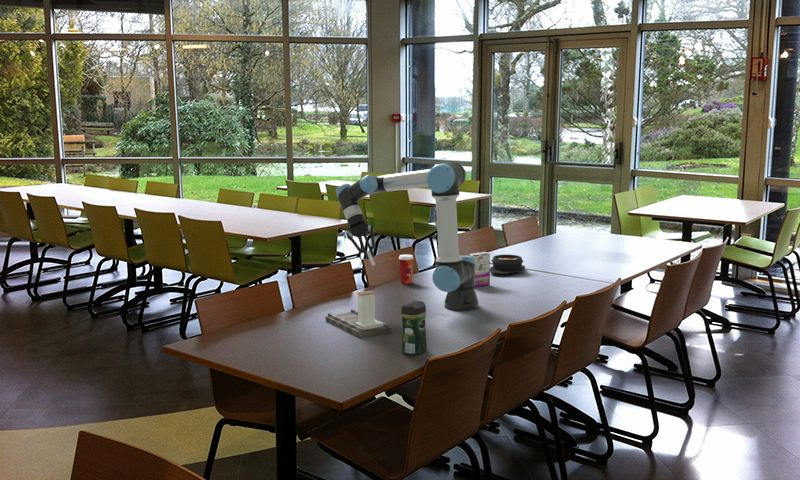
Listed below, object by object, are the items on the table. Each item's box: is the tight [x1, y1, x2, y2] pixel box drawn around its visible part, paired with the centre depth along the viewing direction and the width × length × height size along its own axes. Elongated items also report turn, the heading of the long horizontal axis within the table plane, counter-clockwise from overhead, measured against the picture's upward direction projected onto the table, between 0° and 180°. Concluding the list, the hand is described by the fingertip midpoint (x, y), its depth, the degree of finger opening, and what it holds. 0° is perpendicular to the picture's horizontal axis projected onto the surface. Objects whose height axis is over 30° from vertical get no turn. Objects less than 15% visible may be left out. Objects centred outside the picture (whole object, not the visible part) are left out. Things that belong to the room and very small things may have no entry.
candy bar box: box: [465, 251, 491, 288], centre depth 386 cm, size 11×5×16 cm, turn 118°
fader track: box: [325, 308, 393, 339], centre depth 319 cm, size 30×14×3 cm, turn 32°
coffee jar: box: [400, 300, 428, 355], centre depth 285 cm, size 10×8×19 cm
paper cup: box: [398, 254, 414, 285], centre depth 395 cm, size 8×8×14 cm
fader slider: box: [355, 290, 383, 330], centre depth 310 cm, size 7×9×14 cm
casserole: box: [490, 254, 526, 275], centre depth 417 cm, size 25×19×8 cm
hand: (373, 264), depth 340 cm, fingers closed
